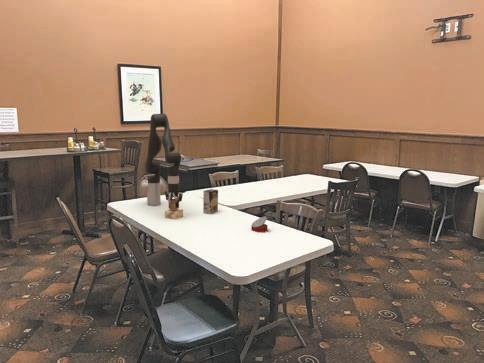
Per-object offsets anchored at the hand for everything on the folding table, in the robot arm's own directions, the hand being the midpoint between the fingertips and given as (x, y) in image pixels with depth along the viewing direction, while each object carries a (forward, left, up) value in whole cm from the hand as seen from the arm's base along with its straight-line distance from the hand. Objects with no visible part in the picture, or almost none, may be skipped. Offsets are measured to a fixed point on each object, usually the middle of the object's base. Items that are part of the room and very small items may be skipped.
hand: (173, 206), depth 276 cm
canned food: (+63, +3, -8) cm, 64 cm away
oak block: (0, 0, -7) cm, 7 cm away
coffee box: (+14, +24, -7) cm, 29 cm away
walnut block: (0, 0, -1) cm, 1 cm away
